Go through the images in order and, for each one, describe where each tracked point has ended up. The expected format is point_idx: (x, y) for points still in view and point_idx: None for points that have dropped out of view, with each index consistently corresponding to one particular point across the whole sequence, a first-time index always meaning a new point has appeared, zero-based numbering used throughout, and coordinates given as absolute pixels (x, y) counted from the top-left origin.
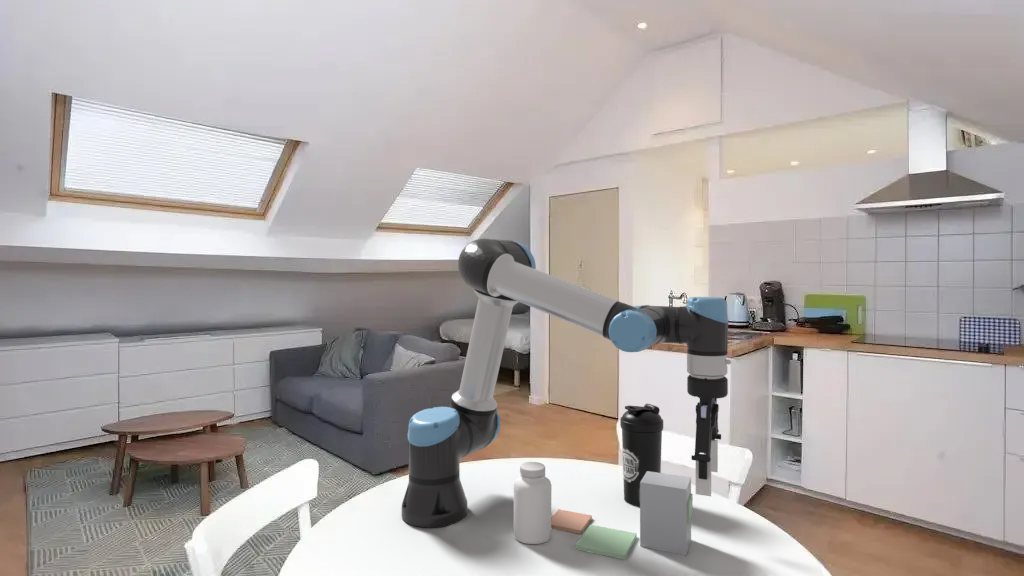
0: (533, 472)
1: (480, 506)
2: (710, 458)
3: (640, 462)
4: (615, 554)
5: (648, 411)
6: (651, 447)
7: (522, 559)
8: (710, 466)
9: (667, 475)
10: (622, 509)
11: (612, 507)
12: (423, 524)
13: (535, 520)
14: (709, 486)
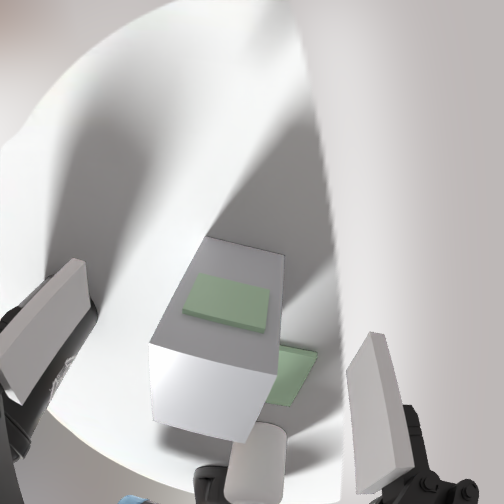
0: None
1: (196, 458)
2: (434, 485)
3: (53, 376)
4: (311, 367)
5: None
6: None
7: (324, 435)
8: (409, 445)
9: (164, 394)
10: (120, 338)
11: (121, 350)
12: None
13: (284, 460)
14: (389, 368)
